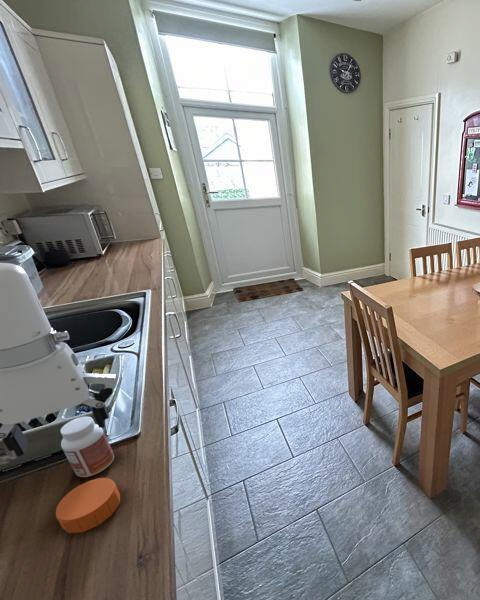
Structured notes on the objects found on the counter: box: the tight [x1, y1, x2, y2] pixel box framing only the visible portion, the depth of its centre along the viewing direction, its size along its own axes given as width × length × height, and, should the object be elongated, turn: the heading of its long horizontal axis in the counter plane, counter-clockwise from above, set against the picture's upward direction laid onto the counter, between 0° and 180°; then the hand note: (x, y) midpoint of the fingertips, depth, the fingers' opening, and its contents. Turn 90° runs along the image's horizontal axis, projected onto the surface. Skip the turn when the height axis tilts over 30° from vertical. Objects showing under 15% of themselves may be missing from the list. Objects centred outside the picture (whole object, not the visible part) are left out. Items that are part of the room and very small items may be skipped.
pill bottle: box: [59, 416, 115, 478], centre depth 66 cm, size 6×6×11 cm
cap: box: [55, 477, 121, 534], centre depth 59 cm, size 8×8×4 cm
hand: (65, 435), depth 55 cm, fingers open, 9 cm apart
